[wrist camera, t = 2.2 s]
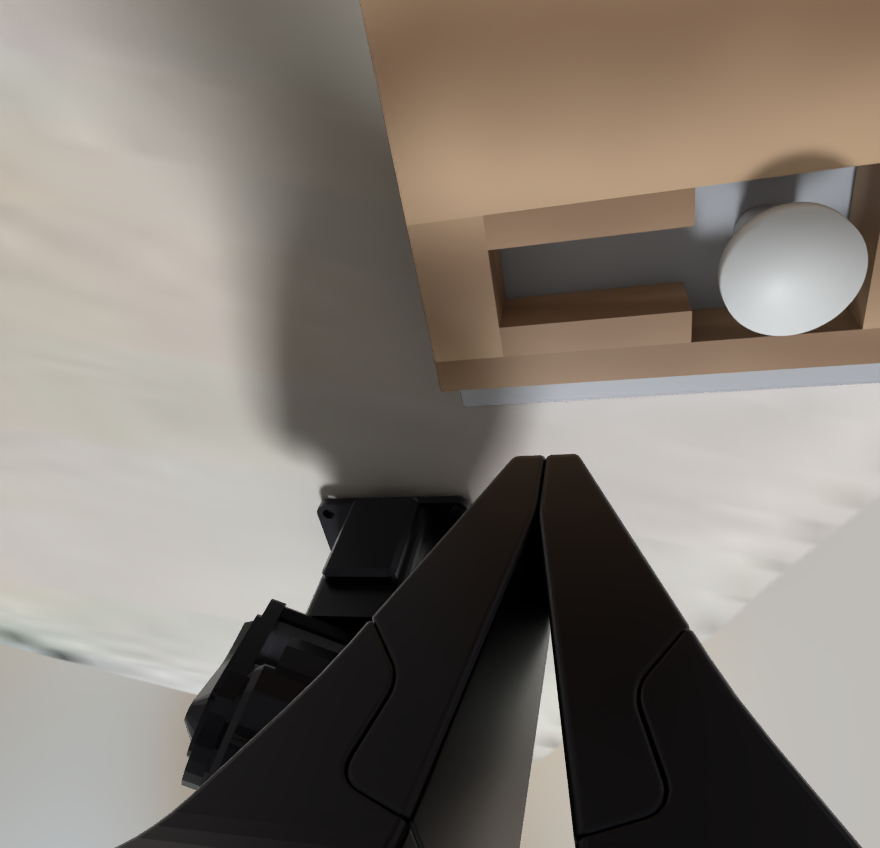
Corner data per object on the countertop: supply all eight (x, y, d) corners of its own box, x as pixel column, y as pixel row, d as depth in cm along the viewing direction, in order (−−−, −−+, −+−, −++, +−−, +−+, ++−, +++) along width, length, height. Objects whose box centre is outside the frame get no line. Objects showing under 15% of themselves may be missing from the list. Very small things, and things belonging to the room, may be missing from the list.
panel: (872, 326, 18) (900, 361, 16) (452, 359, 21) (441, 391, 19) (1057, -655, 10) (1151, -782, 8) (312, -368, 13) (272, -419, 11)
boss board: (1077, 349, 19) (1194, 438, 15) (468, 389, 23) (446, 465, 20) (1603, -1047, 8) (2397, -1846, 5) (309, -486, 13) (199, -669, 9)
